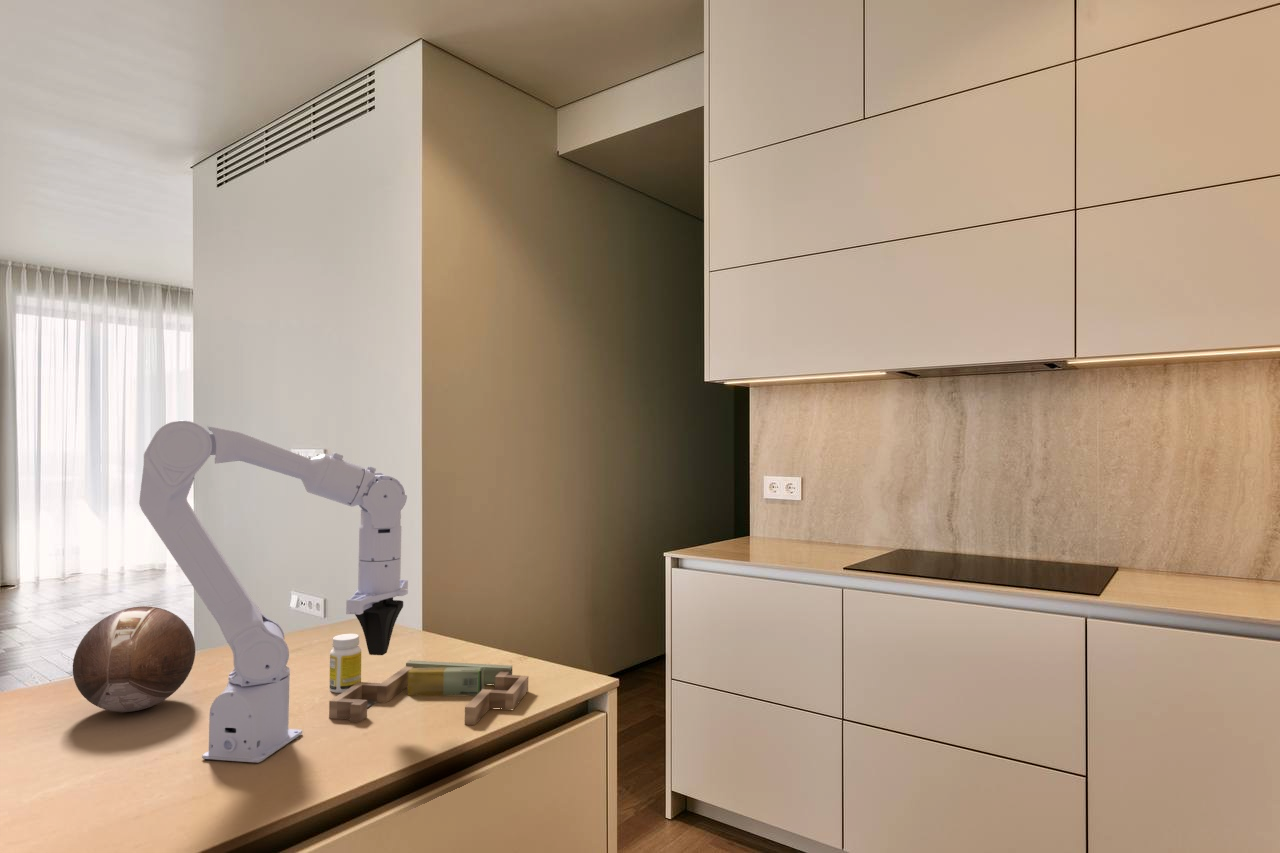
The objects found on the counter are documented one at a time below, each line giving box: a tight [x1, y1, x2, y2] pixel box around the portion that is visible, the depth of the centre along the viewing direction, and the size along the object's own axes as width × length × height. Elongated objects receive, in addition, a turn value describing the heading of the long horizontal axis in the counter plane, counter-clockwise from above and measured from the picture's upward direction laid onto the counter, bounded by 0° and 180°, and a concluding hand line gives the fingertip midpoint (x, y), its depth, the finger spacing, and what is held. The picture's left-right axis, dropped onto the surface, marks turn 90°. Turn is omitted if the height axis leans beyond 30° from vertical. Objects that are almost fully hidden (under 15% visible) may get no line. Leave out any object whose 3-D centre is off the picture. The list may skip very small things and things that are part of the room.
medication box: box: [407, 667, 485, 697], centre depth 116 cm, size 12×3×4 cm, turn 93°
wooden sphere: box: [72, 606, 196, 713], centre depth 108 cm, size 15×15×15 cm
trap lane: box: [328, 659, 529, 726], centre depth 112 cm, size 20×25×3 cm
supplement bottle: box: [329, 633, 362, 694], centre depth 118 cm, size 5×5×8 cm
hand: (378, 653), depth 103 cm, fingers closed
